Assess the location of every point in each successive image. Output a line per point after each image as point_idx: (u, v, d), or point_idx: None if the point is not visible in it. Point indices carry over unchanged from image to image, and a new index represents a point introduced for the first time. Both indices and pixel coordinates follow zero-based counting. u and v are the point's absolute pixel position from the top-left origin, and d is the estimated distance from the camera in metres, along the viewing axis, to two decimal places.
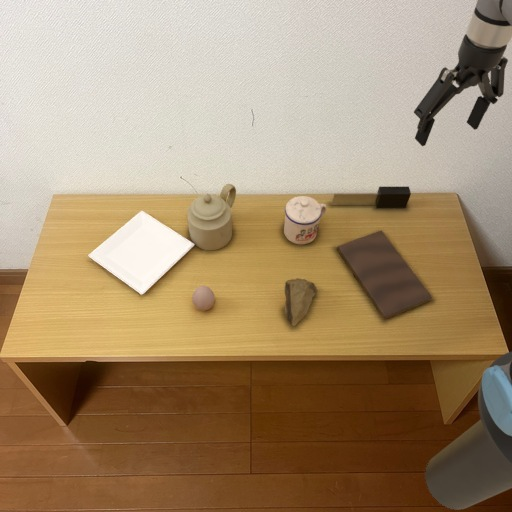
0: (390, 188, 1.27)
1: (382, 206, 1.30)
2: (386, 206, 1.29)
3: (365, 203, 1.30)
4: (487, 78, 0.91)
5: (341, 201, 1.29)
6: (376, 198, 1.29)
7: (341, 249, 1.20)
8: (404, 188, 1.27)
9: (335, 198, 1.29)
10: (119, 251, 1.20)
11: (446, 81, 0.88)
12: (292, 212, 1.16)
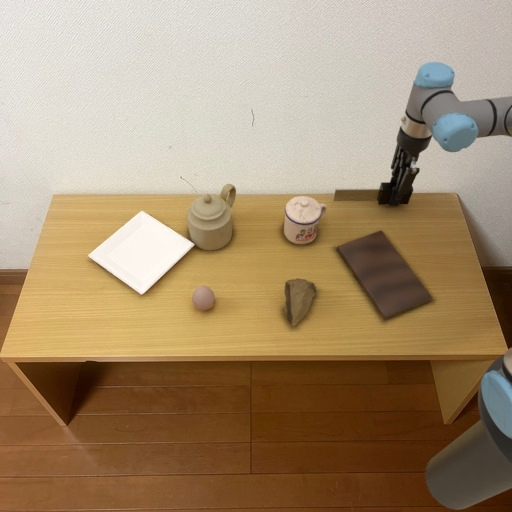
0: (392, 184, 1.25)
1: (384, 202, 1.28)
2: None
3: (367, 199, 1.29)
4: None
5: (342, 197, 1.28)
6: (378, 194, 1.27)
7: (341, 249, 1.20)
8: None
9: (336, 194, 1.27)
10: (119, 251, 1.20)
11: (416, 174, 1.13)
12: (292, 212, 1.16)
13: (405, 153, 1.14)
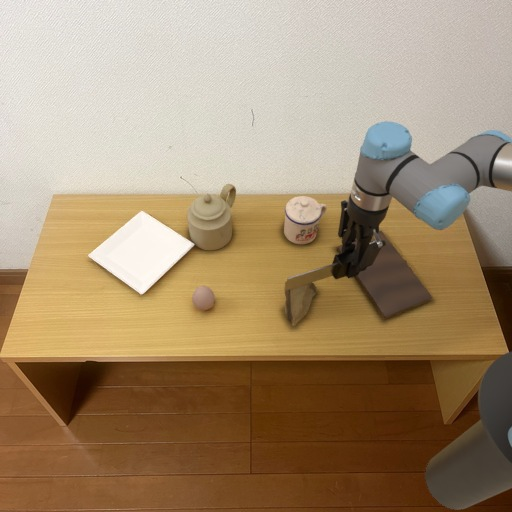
0: (348, 254, 1.04)
1: (342, 276, 1.06)
2: (346, 274, 1.06)
3: (322, 277, 1.05)
4: None
5: (296, 284, 1.02)
6: (334, 269, 1.04)
7: None
8: None
9: (289, 283, 1.01)
10: (119, 251, 1.20)
11: (382, 246, 0.93)
12: (292, 212, 1.16)
13: (361, 226, 0.93)
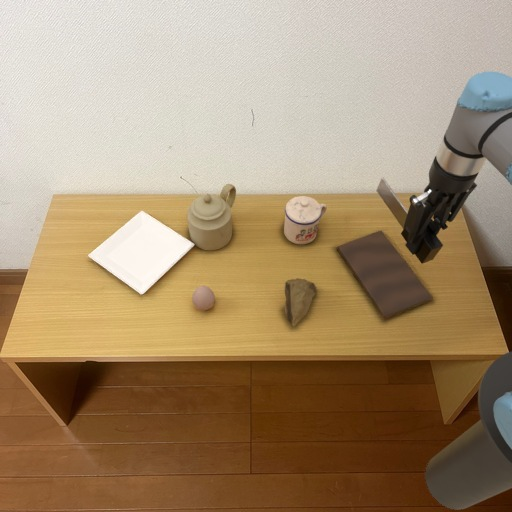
0: None
1: (405, 237, 1.00)
2: None
3: (398, 219, 1.02)
4: (455, 199, 0.87)
5: (383, 194, 1.05)
6: None
7: (341, 249, 1.20)
8: (436, 241, 0.94)
9: (380, 185, 1.04)
10: (119, 251, 1.20)
11: (417, 209, 0.85)
12: (292, 212, 1.16)
13: None
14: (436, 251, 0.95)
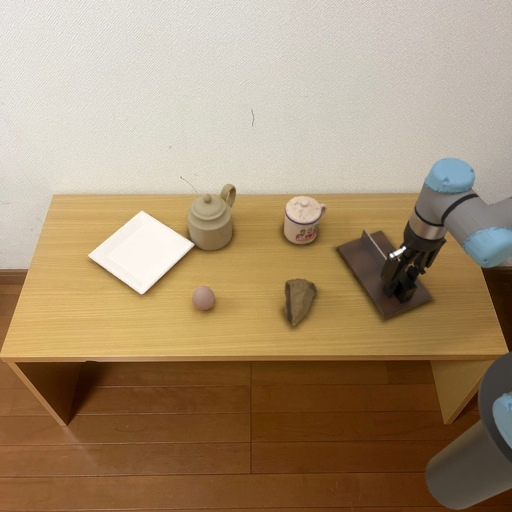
0: None
1: None
2: None
3: (380, 265, 1.16)
4: (428, 253, 1.00)
5: (366, 243, 1.19)
6: None
7: (341, 249, 1.20)
8: (411, 283, 1.07)
9: (363, 235, 1.19)
10: (119, 251, 1.20)
11: (393, 263, 0.98)
12: (292, 212, 1.16)
13: None
14: (412, 292, 1.08)
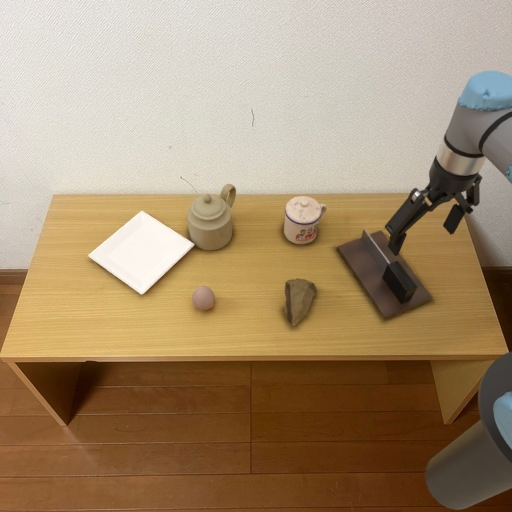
0: (401, 270, 1.09)
1: (386, 280, 1.14)
2: (389, 284, 1.13)
3: (380, 265, 1.16)
4: (461, 195, 0.86)
5: (366, 243, 1.19)
6: None
7: (341, 249, 1.20)
8: (411, 283, 1.07)
9: (363, 235, 1.19)
10: (119, 251, 1.20)
11: (416, 203, 0.83)
12: (292, 212, 1.16)
13: None
14: (412, 292, 1.08)
